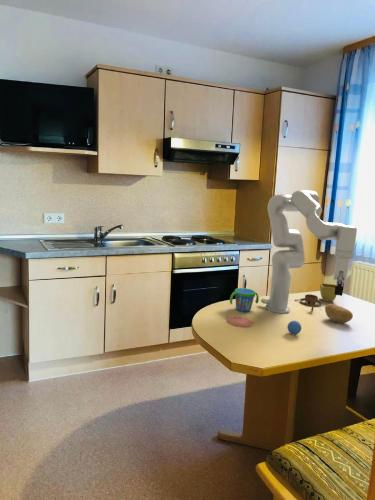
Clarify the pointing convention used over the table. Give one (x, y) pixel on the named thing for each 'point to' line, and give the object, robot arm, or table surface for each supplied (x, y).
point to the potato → (338, 313)
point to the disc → (240, 321)
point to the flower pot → (327, 292)
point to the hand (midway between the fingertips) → (338, 292)
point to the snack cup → (244, 299)
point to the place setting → (310, 301)
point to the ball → (294, 327)
